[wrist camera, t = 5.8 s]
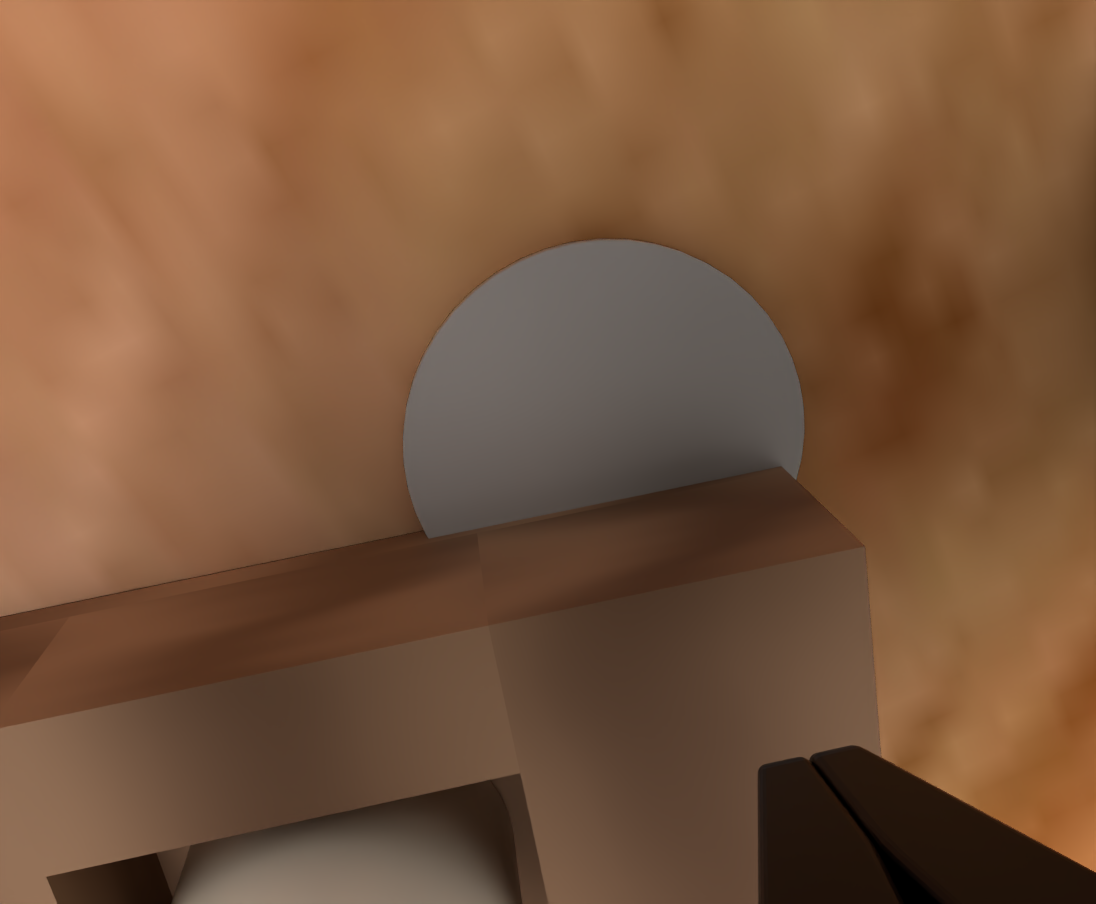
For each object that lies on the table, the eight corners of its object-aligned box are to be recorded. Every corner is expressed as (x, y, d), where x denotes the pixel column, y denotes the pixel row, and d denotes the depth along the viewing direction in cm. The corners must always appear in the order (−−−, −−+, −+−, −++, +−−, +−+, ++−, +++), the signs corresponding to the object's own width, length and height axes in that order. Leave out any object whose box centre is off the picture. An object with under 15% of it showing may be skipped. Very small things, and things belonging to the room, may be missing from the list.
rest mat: (776, 202, 17) (785, 204, 16) (812, 576, 19) (820, 586, 19) (361, 281, 16) (360, 285, 16) (448, 653, 19) (449, 664, 18)
